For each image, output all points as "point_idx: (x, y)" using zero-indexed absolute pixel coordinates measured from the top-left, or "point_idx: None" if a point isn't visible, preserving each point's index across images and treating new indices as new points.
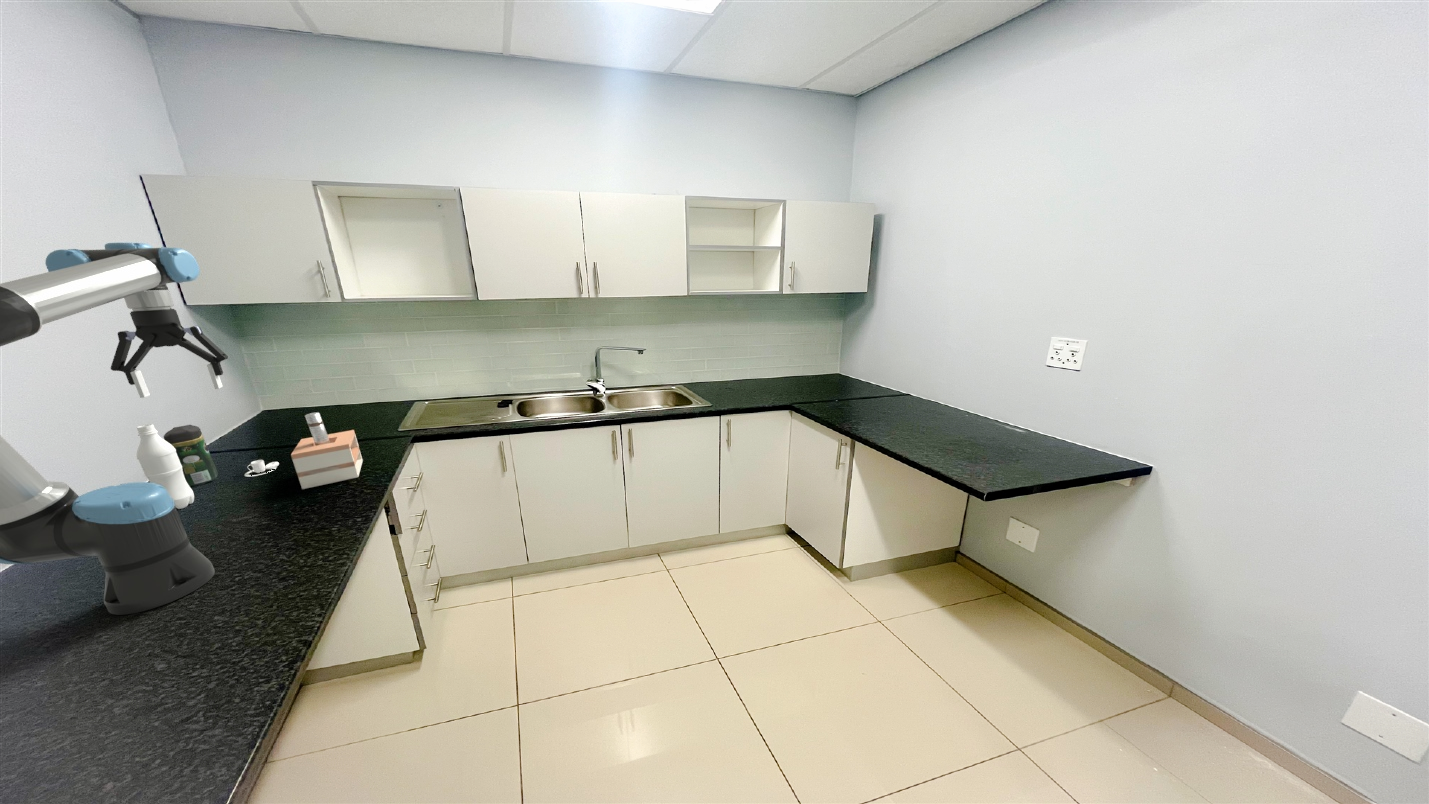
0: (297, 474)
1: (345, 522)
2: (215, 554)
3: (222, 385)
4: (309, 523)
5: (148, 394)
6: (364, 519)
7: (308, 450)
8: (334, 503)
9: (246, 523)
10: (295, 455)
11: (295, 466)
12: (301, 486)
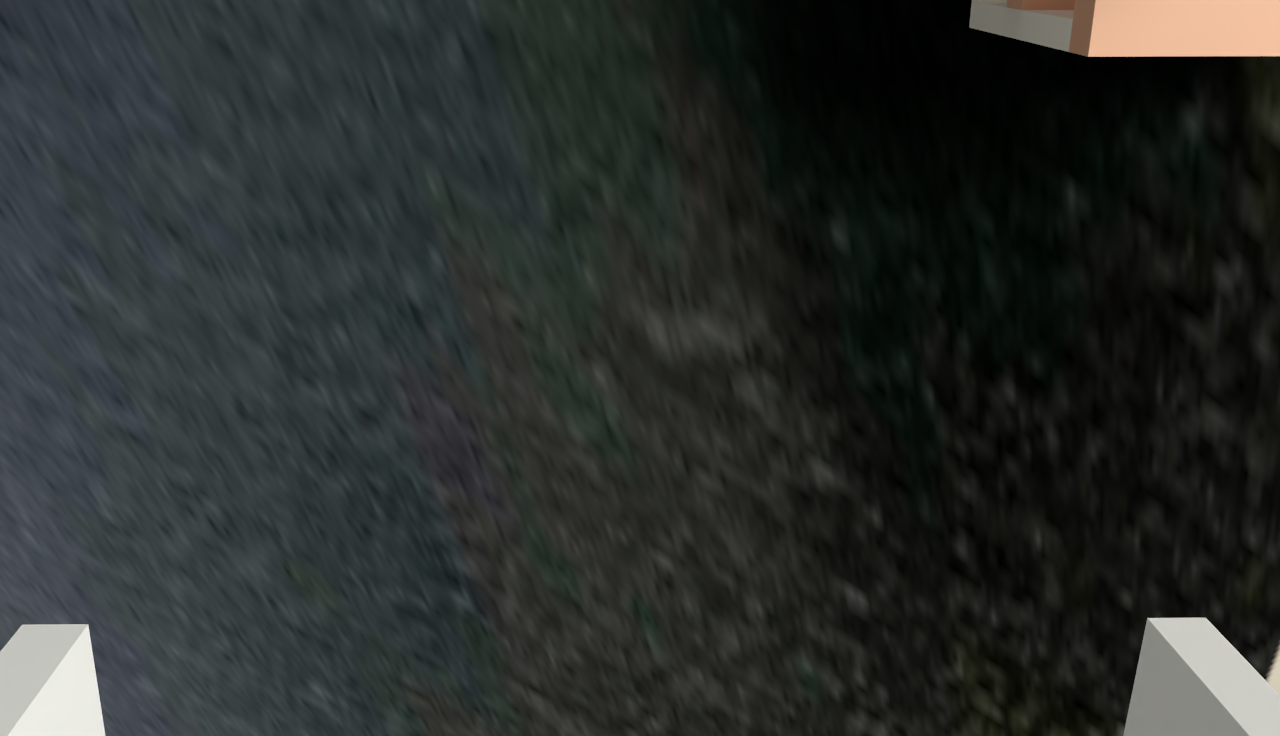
0: (1014, 38)
1: None
2: (679, 707)
3: (1220, 639)
4: (1025, 617)
5: (83, 683)
6: None
7: (1221, 16)
8: (1141, 428)
9: (732, 426)
10: (1112, 54)
11: (1045, 44)
12: (977, 28)
